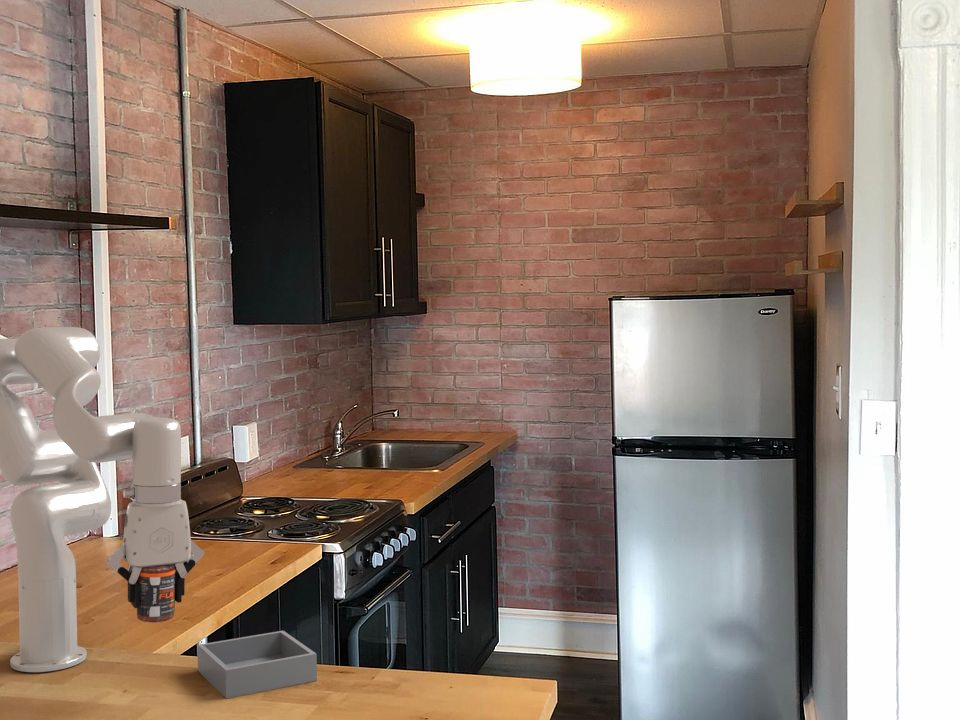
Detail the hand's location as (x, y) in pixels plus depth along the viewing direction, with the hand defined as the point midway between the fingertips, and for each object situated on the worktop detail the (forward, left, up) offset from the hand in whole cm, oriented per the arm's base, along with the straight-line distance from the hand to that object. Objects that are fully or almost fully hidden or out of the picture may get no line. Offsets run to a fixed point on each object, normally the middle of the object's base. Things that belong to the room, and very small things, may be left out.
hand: (156, 602), depth 169 cm
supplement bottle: (0, 0, -3) cm, 3 cm away
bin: (+2, +16, -15) cm, 22 cm away
